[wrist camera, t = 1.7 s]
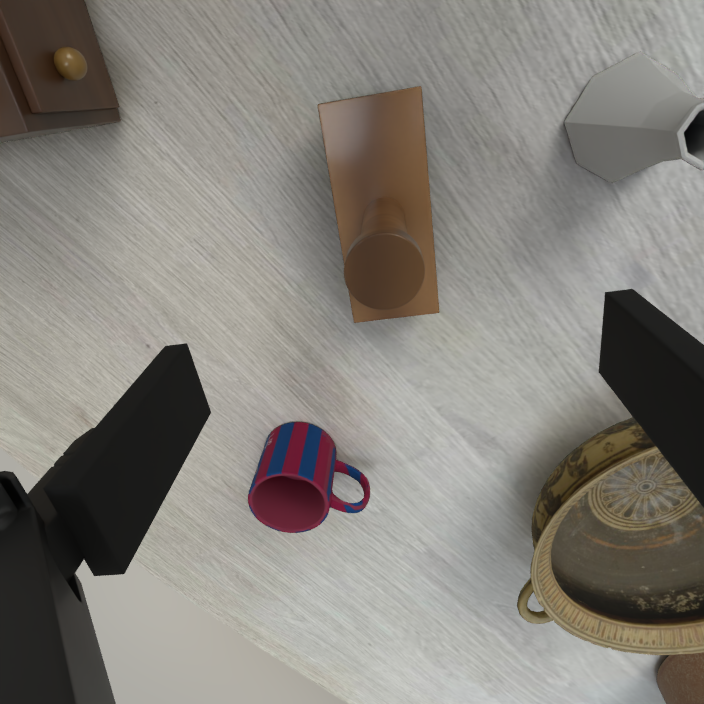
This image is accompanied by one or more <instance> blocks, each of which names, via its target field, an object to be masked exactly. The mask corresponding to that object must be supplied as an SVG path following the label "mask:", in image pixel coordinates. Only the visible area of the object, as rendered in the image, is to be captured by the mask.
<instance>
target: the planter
mask: <svg viewBox="0 0 704 704" xmlns="http://www.w3.org/2000/svg"><path fill="white" fill-rule="evenodd" d="M657 684H658V687H659V689H660V691H661V694H662V696H663V698H664V700H665V702H666V704H704V652H702V653H693V654H676V655H669V656H668V657H667V658H666V659H665V660H664V662H663V663H662V664H661V666H660V668H659V670H658V674H657Z"/></svg>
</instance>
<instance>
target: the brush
mask: <svg viewBox="0 0 704 704" xmlns="http://www.w3.org/2000/svg"><path fill="white" fill-rule="evenodd" d="M318 111H319V117H320V123H321V129H322V135H323V141H324V147H325V153H326V159H327V165H328V171H329V177H330V183H331V189H332V195H333V201H334V207H335V212H336V218H337V224H338V230H339V236H340V242H341V248H342V254H343V260H344V278H345V283H346V285H347V288H348V290H349V296H350V302H351V308H352V314H353V320H354V323H357V322H366V321H374V320H383V319H391V318H399V317H408V316H416V315H425V314H433V313H439V301H438V289H437V276H436V264H435V251H434V239H433V226H432V213H431V201H430V188H429V176H428V163H427V151H426V138H425V126H424V113H423V101H422V88H421V86H419V87H413V88H407V89H401V90H395V91H390V92H384V93H378V94H373V95H367V96H361V97H355V98H350V99H344V100H338V101H332V102H327V103H321V104H318Z"/></svg>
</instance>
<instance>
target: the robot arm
mask: <svg viewBox="0 0 704 704" xmlns="http://www.w3.org/2000/svg"><path fill="white" fill-rule="evenodd" d="M599 373H600V374H601V376H602V377H603V378H604V380H605V381H606V382H607V384H608V385H609V386H610V387H611V389H612V390H613V391H614V393H615V394H616V395H617V396H618V398H619V399H620V400H621V402H622V403H623V404H624V406H625V407H626V408H627V409H628V411H629V412H630V413H631V415H632V416H633V417H634V418H635V420H636V421H637V422H638V424H639V425H640V426H641V428H642V429H643V430H644V431H645V433H646V434H647V435H648V437H649V438H650V439H651V440H652V442H653V443H654V444H655V446H656V447H657V448H658V450H659V451H660V452H661V453H662V455H663V456H664V457H665V459H666V460H667V461H668V462H669V464H670V465H671V466H672V468H673V469H674V470H675V472H676V473H677V474H678V475H679V477H680V478H681V479H682V481H683V482H684V483H685V484H686V486H687V487H688V488H689V490H690V491H691V492H692V494H693V495H694V496H695V497H696V499H697V500H698V501H699V503H700V504H701V505H702V506H703V508H704V345H703V344H702V343H700V342H699V341H698V340H697V339H695V338H694V337H693V336H692V335H690V334H689V333H688V332H686V331H685V330H684V329H683V328H681V327H680V326H679V325H678V324H676V323H675V322H674V321H673V320H671V319H670V318H669V317H667V316H666V315H665V314H664V313H662V312H661V311H660V310H659V309H657V308H656V307H655V306H653V305H652V304H651V303H650V302H648V301H647V300H646V299H645V298H643V297H642V296H641V295H639V294H638V293H637V292H636V291H634V290H633V289H628V290H620V291H612V292H605V301H604V314H603V326H602V338H601V351H600V363H599ZM210 413H211V411H210V408H209V405H208V402H207V399H206V397H205V394H204V391H203V388H202V385H201V382H200V379H199V376H198V374H197V371H196V368H195V365H194V362H193V359H192V356H191V353H190V351H189V348H188V345H187V344H179V345H170V346H165V347H164V348H163V349H162V350H161V352H160V353H159V354H158V355H157V356H156V357H155V359H154V360H153V361H152V362H151V363H150V364H149V366H148V367H147V368H146V369H145V370H144V371H143V373H142V374H141V375H140V376H139V377H138V378H137V380H136V381H135V382H134V383H133V384H132V385H131V387H130V388H129V389H128V390H127V391H126V392H125V394H124V395H123V396H122V397H121V398H120V399H119V401H118V402H117V403H116V404H115V405H114V406H113V408H112V409H111V410H110V411H109V412H108V413H107V414H106V416H105V417H104V418H103V419H102V420H101V421H100V423H99V424H98V425H97V426H96V427H95V428H92V429H90V430H89V431H87V432H86V433H85V434H83V435H82V436H80V437H79V438H78V439H76V440H75V441H74V442H73V443H72V444H71V445H70V447H69V448H68V449H67V450H66V451H65V452H64V453H63V454H64V455H63V456H61V457H60V458H59V459H58V460H57V461H56V462H55V464H54V467H51V468H50V469H49V470H48V471H47V473H46V474H45V475H44V476H43V477H42V478H41V479H40V480H39V482H38V483H37V484H36V485H35V486H34V487H33V488H32V490H31V491H30V492H29V493H28V494H27V493H26V492H25V490H24V488H23V487H22V485H21V483H20V482H19V480H18V479H17V477H16V476H15V474H14V473H13V472H8V471H2V472H0V704H115V700H114V696H113V693H112V689H111V686H110V683H109V679H108V676H107V672H106V669H105V665H104V661H103V658H102V654H101V652H100V647H99V644H98V640H97V637H96V634H95V630H94V626H93V623H92V619H91V616H90V613H89V609H88V606H87V602H86V598H85V595H84V591H83V588H82V585H81V582H80V580H79V579H78V577H77V576H76V574H75V572H76V570H77V569H78V567H79V566H80V564H81V563H82V561H83V559H85V561H86V563H87V565H88V566H89V568H90V570H91V571H92V573H93V575H94V576H101V575H117V574H124V573H125V572H126V570H127V568H128V566H129V564H130V562H131V560H132V559H133V557H134V555H135V553H136V551H137V549H138V547H139V546H140V544H141V542H142V540H143V538H144V536H145V534H146V533H147V531H148V529H149V527H150V525H151V523H152V521H153V519H154V518H155V516H156V514H157V512H158V510H159V508H160V506H161V505H162V503H163V501H164V499H165V497H166V495H167V493H168V492H169V490H170V488H171V486H172V484H173V482H174V480H175V479H176V477H177V475H178V473H179V471H180V469H181V467H182V465H183V464H184V462H185V460H186V458H187V456H188V454H189V452H190V451H191V449H192V447H193V445H194V443H195V441H196V439H197V438H198V436H199V434H200V432H201V430H202V428H203V426H204V425H205V423H206V421H207V419H208V417H209V415H210Z"/></svg>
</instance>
